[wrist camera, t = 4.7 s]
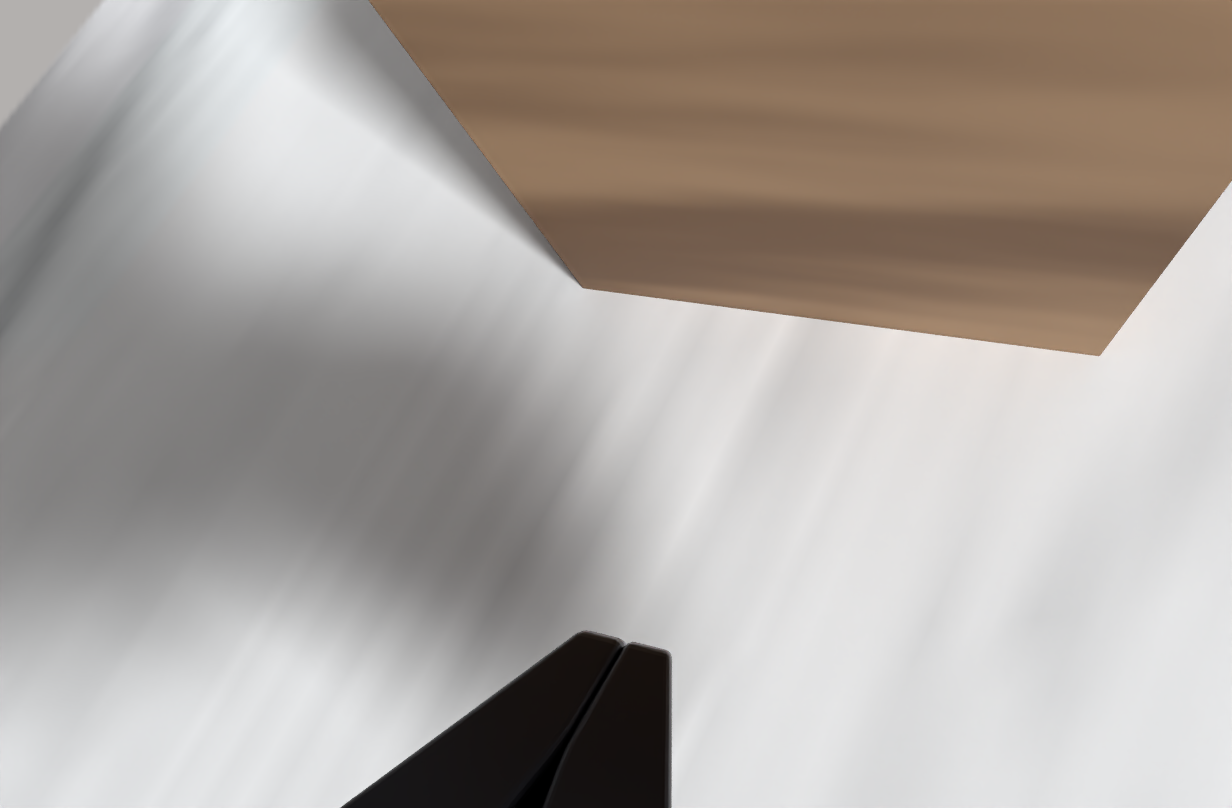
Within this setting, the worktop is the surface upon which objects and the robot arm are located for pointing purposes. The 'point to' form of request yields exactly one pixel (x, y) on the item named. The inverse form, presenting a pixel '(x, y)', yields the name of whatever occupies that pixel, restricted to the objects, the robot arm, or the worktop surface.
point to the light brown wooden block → (852, 149)
